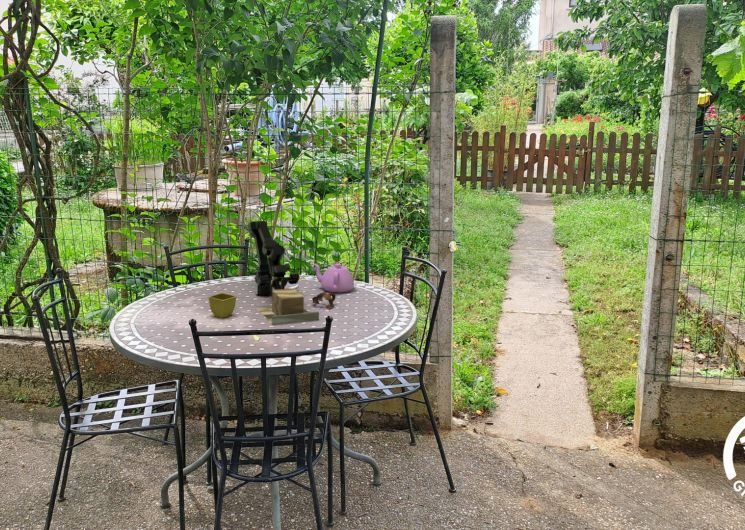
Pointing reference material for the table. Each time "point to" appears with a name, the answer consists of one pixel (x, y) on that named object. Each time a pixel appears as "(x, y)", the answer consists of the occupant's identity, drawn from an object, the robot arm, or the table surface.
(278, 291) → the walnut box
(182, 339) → the table surface
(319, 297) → the brown piece
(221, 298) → the flower pot
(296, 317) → the board
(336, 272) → the teapot
